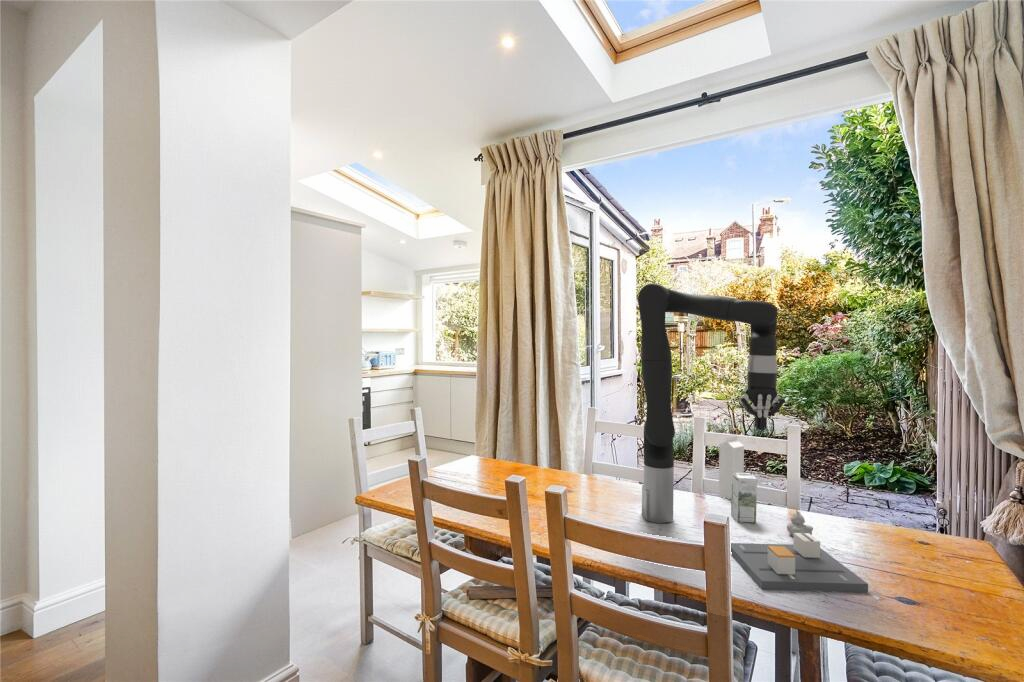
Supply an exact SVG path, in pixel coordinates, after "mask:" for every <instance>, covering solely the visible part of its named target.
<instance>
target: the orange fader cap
mask: <svg viewBox="0 0 1024 682" xmlns="http://www.w3.org/2000/svg"><path fill="white" fill-rule="evenodd" d="M768 565H769V566H770V567H771V568H772V569H773V570H774V571H775V572H776V573H777V574H795V555H794V554H793V553H791V552H790V551H789V550H788V549H787V548H786V547H784V546H768Z"/></svg>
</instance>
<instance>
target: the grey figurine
mask: <svg viewBox="0 0 1024 682" xmlns="http://www.w3.org/2000/svg"><path fill="white" fill-rule="evenodd" d="M795 511H796V512H795V513H793V515H792V516H790V517H789V519H790V521H791V522H789V523H788V524H787V526H786V529H787V531H788V533H789V534H790V535H791V536H792V537H794V533H800V532H803V533H809V534H811V535H812V536H813V531H814V527H813V526H811V525H809V524H808V525H807V524H806V525H805V522H806V520H805V518H804V516H803V514H802V513H801V512H800V511H798V509H796V510H795Z"/></svg>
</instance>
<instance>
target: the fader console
mask: <svg viewBox="0 0 1024 682" xmlns="http://www.w3.org/2000/svg"><path fill="white" fill-rule="evenodd" d="M730 543H731V552H732V555H731V556H732V558H733V559H734V560H735V561H736V562H737V564H739V566H740V567H741V568H742V569H743V570H744V571H745V572H746V574H747V575H748V576H749V577H750V578H751V579H752V580H753V581H754V583H755V584H756V585H757V586H758V587H759V588H760V589H761V590H766V591H767V590H769V591H798V592H800V591H803V592H805V591H807V592H832V591H836V592H835V593H838V592H840V593H841V592H842V593H867V592H868V593H869V583H868V582H866V581H865V580H864V579H862V578H861V577H860V576H858V574H855V572H853V571H852V570H850V569H849V568H848V567H847V566H845V565H844V564H843V563H841V562H840V561H838V560H837V559H836V558H834V557H833V556H832V555H831V554H829V553H828V552H826V551H825V550H824V549H822V548H821V547H820V558H810V557H803V556H802V555H801V554H799V553H798V552H797V551H796V550H795V549H793V544H785V543H784V544H783V543H781V544H780V543H750V542H749V543H747V542H746V543H744V542H743V543H742V542H741V543H739V542H730ZM768 546H784V547H786V548H787V549H788V550H789V551H790V552H791V553H793V554H794V555H795V574H777V573H776V572H775V571H774V570H773V569H772V568H771V567H770V566H769V565H768Z"/></svg>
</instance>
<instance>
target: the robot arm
mask: <svg viewBox="0 0 1024 682" xmlns="http://www.w3.org/2000/svg"><path fill="white" fill-rule="evenodd" d="M637 305H638V308H639V309H638V310H639V317H640V318H639V319H640V324H641V340H640V341H641V347H640V349H641V350H640V351H641V374H642V382H643V388H644V393H645V398H646V417H645V418H646V419H645V421H644V423H643V484H642V486H641V515H642V516H643V518H644V520H645V522H646V521H647V522H653V523H658V524H666V522H668V523H671V522H673V521H674V487H675V486H674V485H675V484H674V479H675V478H674V474H675V473H674V472H675V466H674V465H675V463H674V462H675V458H674V437H675V435H676V430H675V425H674V419H673V412H672V402H671V401H672V387H673V386H672V385H673V384H672V383H673V364H672V363H673V361H672V360H673V359H672V350H671V346H670V341H669V339H668V337H669V336H668V335H667V334H668V333H667V327H666V313H680V314H688V315H694V316H699V317H704V318H708V319H713V320H719V321H724V322H725V321H726V322H735V323H736V322H739V323H744V324H748V325H750V338H749V346H748V348H749V349H748V358H747V359H748V361H747V388H746V390H745V394H744V395H742V396H739V397H738V398H737V400H738V402H739V403H740V404H741V406H742V407H743V408H744V409H745V411H746V412H747V414H749V415H751V416H754V424H753V425H754V428H755V429H756V430H758V431H765V430H766V429H767V426H768V424H767V421H768V420H767V419H768V418H769V417H773V416H774V415H775V414H776V413H778V411H779V410H780V408H782V406H783V405H784V404H785V402H786V399H783V398H782V397H780V396H779V395H778V391H777V381H778V378H777V377H778V376H777V374H778V372H777V371H778V361H777V337H776V335H777V334H776V333H777V323H778V322H777V321H778V320H777V319H778V316H779V315H778V314H779V313H778V309H777V307H776V306H775V305H774V304H772V303H771V302H768V301H762V300H751V299H750V300H749V299H739V298H734V297H729V296H728V297H727V296H721V295H711V294H710V295H709V294H696V293H694V294H693V293H684V292H681V291H676V290H674V289H670V288H668V287H667V288H666V287H665V286H663V285H661V284H658V283H655V282H651V283H647V284H645V285H643V287H642V288H641V289H640V290H639V292H638V295H637ZM749 401H750V402H751V403H752V406H751V404H750V403H749ZM672 520H673V521H672Z"/></svg>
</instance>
